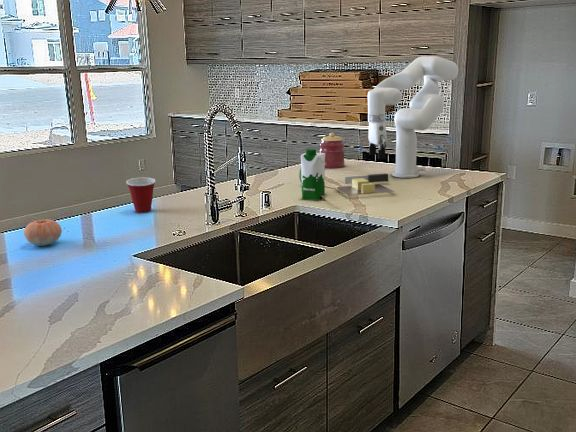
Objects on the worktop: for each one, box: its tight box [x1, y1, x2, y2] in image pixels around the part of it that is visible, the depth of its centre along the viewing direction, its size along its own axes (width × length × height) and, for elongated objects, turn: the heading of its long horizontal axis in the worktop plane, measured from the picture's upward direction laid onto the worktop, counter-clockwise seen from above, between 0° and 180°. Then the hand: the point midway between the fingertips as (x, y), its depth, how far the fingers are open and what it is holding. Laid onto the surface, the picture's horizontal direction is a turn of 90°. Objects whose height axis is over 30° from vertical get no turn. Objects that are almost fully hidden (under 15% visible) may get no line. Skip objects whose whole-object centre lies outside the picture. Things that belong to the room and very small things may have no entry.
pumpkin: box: [23, 218, 63, 247], centre depth 183 cm, size 11×11×8 cm
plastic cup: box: [125, 176, 157, 214], centre depth 221 cm, size 11×11×12 cm
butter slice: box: [362, 182, 376, 194], centre depth 239 cm, size 5×2×4 cm, turn 105°
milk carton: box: [300, 148, 326, 201], centre depth 235 cm, size 9×9×20 cm
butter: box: [351, 178, 369, 190], centre depth 247 cm, size 5×7×4 cm
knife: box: [344, 173, 389, 185], centre depth 259 cm, size 20×2×4 cm, turn 105°
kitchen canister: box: [319, 131, 346, 169], centre depth 306 cm, size 13×13×18 cm
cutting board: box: [335, 183, 396, 196], centre depth 245 cm, size 20×16×2 cm
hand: (377, 156), depth 264 cm, fingers open, 9 cm apart
